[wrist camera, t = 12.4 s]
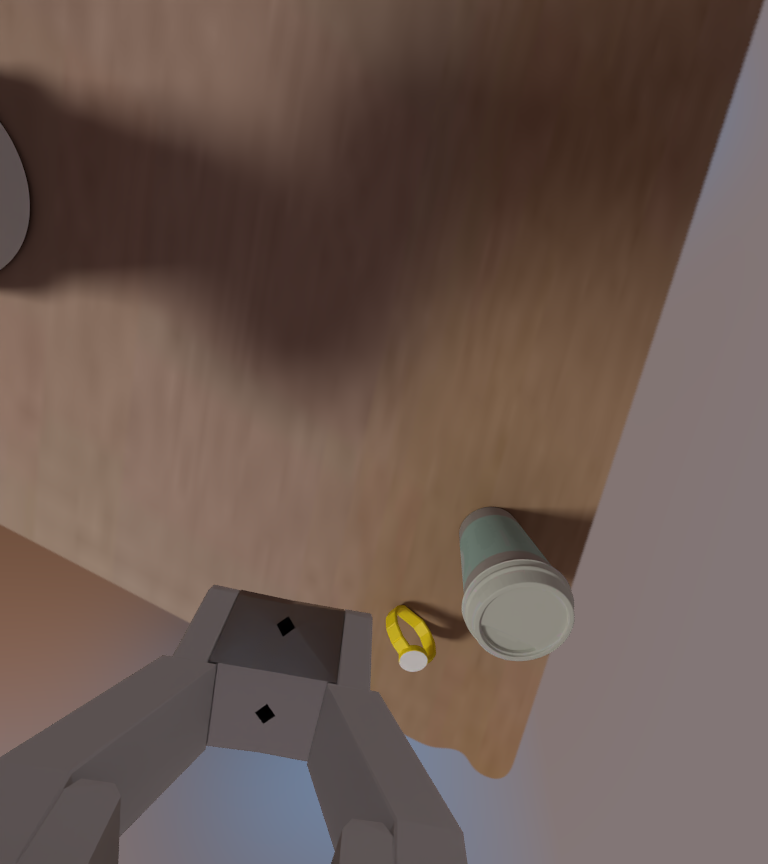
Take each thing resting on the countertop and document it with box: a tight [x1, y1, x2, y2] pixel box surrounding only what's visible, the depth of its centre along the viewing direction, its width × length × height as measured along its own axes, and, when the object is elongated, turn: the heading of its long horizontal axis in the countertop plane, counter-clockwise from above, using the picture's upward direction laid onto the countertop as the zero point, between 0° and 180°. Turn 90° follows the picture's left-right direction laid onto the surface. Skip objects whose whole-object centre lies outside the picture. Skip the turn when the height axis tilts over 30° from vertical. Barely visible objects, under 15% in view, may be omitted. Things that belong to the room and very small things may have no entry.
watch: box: [386, 605, 436, 672], centre depth 45 cm, size 6×3×6 cm, turn 46°
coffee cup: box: [459, 507, 574, 661], centre depth 38 cm, size 9×9×12 cm
